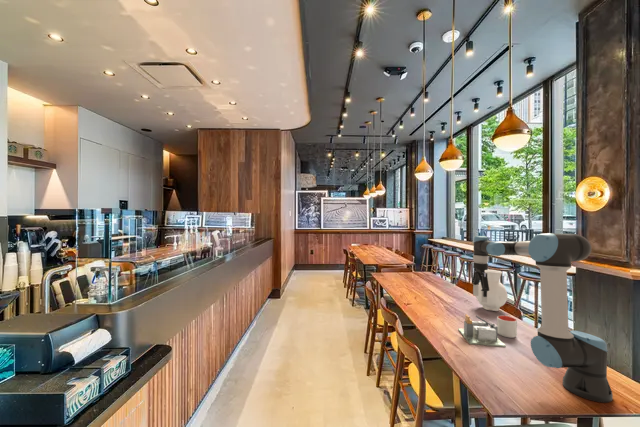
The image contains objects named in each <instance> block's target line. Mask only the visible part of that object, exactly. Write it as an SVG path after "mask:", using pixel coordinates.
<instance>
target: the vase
mask: <svg viewBox="0 0 640 427" xmlns="http://www.w3.org/2000/svg"><path fill="white" fill-rule="evenodd" d="M485 273H487V278H488V285H489V291H487V303H486V302H481V296H482V291H481V290H482V286H481V282H480V281H479V288H478V296H475V298H476V300H477V302H478V303H479V304H480V305H482V309H484V310H485V311H493V312H499V311H501V310H500V308H501V307H503V306H504V305H505V304H506V302H507V301H508V292H507V288H506V287H505V285H504V284H503V283H502V282H500V279H501V276H502V274H503V271H501V270H498V269H497V270H496V269H489V268H488V270H485Z"/></svg>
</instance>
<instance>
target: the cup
mask: <svg viewBox="0 0 640 427" xmlns="http://www.w3.org/2000/svg"><path fill="white" fill-rule="evenodd" d="M496 318H497V321H496V326H497V327H498V334H497V335H499V336H501V337H504V338H511V339H512V338H516V337H517V334H518V333H517V332H518V319H517V318H514V317H512V316H507V315H498V316H496Z"/></svg>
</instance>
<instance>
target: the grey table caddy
mask: <svg viewBox="0 0 640 427" xmlns="http://www.w3.org/2000/svg"><path fill="white" fill-rule="evenodd" d="M490 324H491V325H493V327H492V326H490V325H488V324H487V323H485V322H483V321H482V320H480V321H479V320H472V324H468V323H467V322H466V321H465V320H464V321H463V328H459V327H458V329H457V331H458V332H459V333H460V334H461V335H462V337H463V339H465V340H466V342H467V343H468V344H469V345H477V346H478V345H479V346H485V347H486V346H487V347H499V348H500V347H501V348H506V347H507V346H506V344H505V343H504V342H503V341H501V340H500V339H499V338H498V335H499V334H498V327H497V325H495V323H490Z"/></svg>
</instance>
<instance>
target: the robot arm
mask: <svg viewBox="0 0 640 427" xmlns="http://www.w3.org/2000/svg"><path fill="white" fill-rule="evenodd" d="M591 253H592V244H591V242H590V241H589V240H588V238H586V237H584V236H582V235H580V234H576V233H552V232H551V233H550V232H547V233H539V234H536V235H535V236H533V238H531V239H530V240H521V241H519V240H517V241H501V240H499V241H493V240H489V237H488V236H487V235H486V236H483V235H477V236H474V238H473V256H472V257H473V258H472V260H473V264H472V268H473V275H472V279H471V283H472V285H473V288H472V295H473V296H475V297H476V296H478V288H479V282H481V286H482V290H481V291H482V296H481V302H486V303H487V291H489V285H488V278H487V273H485V270H488V269H489V264H488V263H489V259H490V257H489V255H490V256H494V257H501V256H529V257H530V259H532V260H533V261H535V266H536V267H537V268H539V270H540V271H539V273H540V278H539V279H540V305H541V307H540V308H541V309H540V310H541V311H540V312H541V313H540V314H541V326H540V327H538V328H537V335H535V336H533V337H532V338H531V340H530V348H531V351H532V353H533V355H534V356H535V358H536V359H537V361H538V362H539V363H540V364H542V365H543V366H545V367H547V368H555V369H561V368H562V369H564V368H565V369H566V371H565V373H564V375H563V378H562V385H563V387H564V388H565V389H566V390H568V392H570V393H572V394H573V395H576V396H578V397H581V398H582V399H587V400H589V401H592V402H599V403H611V402H613V397H614V396H613V390H612V389H611V385H610V383H609V381H608V375H607V374H608V344H607V342H606V341H605V340H604V339H603V338H601V337H599V336H596V335H593V334H590V333H587V332H585V331H584V332H583V331H580V330H569V307H568V306H569V305H568V276H567V271H569V269H571V268H572V263H573V262H581V261H583V260H585V259H587V258H588V257H589V256H590V255H591Z"/></svg>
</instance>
